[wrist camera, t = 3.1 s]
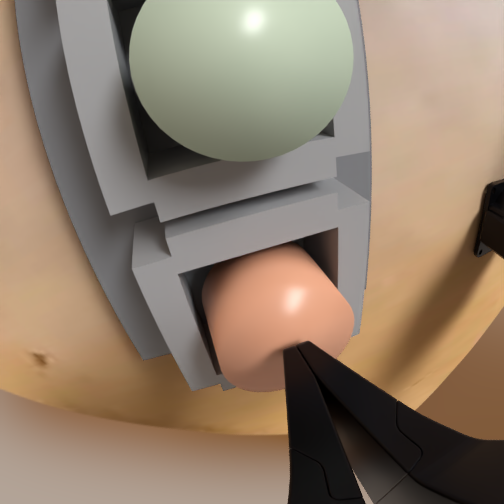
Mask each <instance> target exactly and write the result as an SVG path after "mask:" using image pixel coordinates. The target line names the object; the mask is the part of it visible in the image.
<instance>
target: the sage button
mask: <svg viewBox="0 0 504 504" xmlns="http://www.w3.org/2000/svg"><path fill="white" fill-rule="evenodd" d="M353 60H354V56H353V43H352V38H351V33H350V30H349V26H348V23H347V20H346V18H345V16H344V14H343V12H342V10H341V8H340V6H339V5H338V3H337V2H336V0H146V1H145V3H144V4H143V6H142V8H141V10H140V12H139V14H138V16H137V18H136V21H135V24H134V27H133V30H132V34H131V40H130V46H129V64H130V71H131V77H132V81H133V84H134V87H135V91H136V93H137V95H138V97H139V99H140V101H141V104H142V105H143V107H144V108H145V110H146V111H147V113H148V114H149V116H150V117H151V119H152V120H153V121H154V122H155V123H156V124H157V125H158V126H159V128H160V129H161V130H163V131H164V132H165V133H166V134H167V135H168V136H170V137H171V138H172V139H174V140H175V141H177V142H178V143H180V144H181V145H183V146H184V147H186V148H188V149H190V150H192V151H195V152H197V153H199V154H202V155H205V156H208V157H211V158H216V159H221V160H225V161H237V162H247V161H259V160H265V159H270V158H273V157H277V156H281V155H283V154H286V153H288V152H290V151H293V150H295V149H297V148H298V147H300V146H302V145H304V144H306V143H307V142H308V141H310V140H311V139H312V138H314V137H315V136H316V135H317V134H319V133H320V132H321V131H322V130H323V129H324V128H325V127H326V126H327V125H328V123H329V122H330V121H331V120H332V119H333V117H334V116H335V114H336V113H337V111H338V110H339V108H340V107H341V105H342V103H343V101H344V99H345V96H346V94H347V91H348V88H349V85H350V82H351V77H352V72H353Z"/></svg>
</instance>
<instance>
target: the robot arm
mask: <svg viewBox="0 0 504 504" xmlns="http://www.w3.org/2000/svg"><path fill="white" fill-rule="evenodd" d="M490 251H494V252H495V253H496V254H498V255H499V256H500V257H502V258H503V259H504V179H502V180H499V181H496V182H492V183H490V184H489V186H488V188H487V193H486V199H485V205H484V210H483V215H482V220H481V224H480V229H479V233H478V238H477V242H476V246H475V250H474V255H475V256H477V257H481V256H482V255H484V254H486V253H488V252H490ZM283 364H284V378H285V392H286V406H287V422H288V437H289V449H290V450H289V456H290V484H289V496H288V504H365V501H364V499H363V498H362V497H363V496H362V493H361V491H360V488H359V486H358V483H357V480H356V478H355V475H354V473H353V470H354V472H355V474H356V475H357V477H358V479H359V481H360V482H361V484H362V485H363V487H364V489H365V490H366V492H367V494H368V495H369V497H370V498H371V500H372V502H373V503H374V504H504V440H482V439H476V438H473V437H469V436H467V435H464V434H462V433H460V432H458V431H455V430H453V429H451V428H449V427H446V426H444V425H442V424H440V423H438V422H435V421H433V420H431V419H429V418H427V417H425V416H423V415H421V414H420V413H418V412H416V411H415V410H413V409H411V408H409V407H408V406H406V405H405V404H403V403H402V402H400V401H397V399H395V398H394V397H392V396H391V395H389V394H388V393H386V392H385V391H383V390H382V389H380V388H378V387H377V386H375V385H374V384H372V383H371V382H369V381H368V380H366V379H365V378H363V377H362V376H360V375H359V374H357V373H356V372H354V371H353V370H351V369H350V368H348V367H347V366H346V365H344V364H343V363H341V362H340V361H338V360H337V359H335V358H334V357H332V356H331V355H329V354H328V353H326V352H325V351H324V350H322V349H321V348H319V347H318V346H316V345H315V344H313V343H312V342H310V341H304V342H301V343H299V344H297V345H296V346H290V347H287V348H285V349H283ZM352 469H353V470H352Z"/></svg>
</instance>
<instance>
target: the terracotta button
mask: <svg viewBox="0 0 504 504" xmlns="http://www.w3.org/2000/svg"><path fill="white" fill-rule="evenodd" d="M202 304H203V308H204V312H205V315H206V319H207V323H208V326H209V330H210V334H211V337H212V341H213V344H214V348H215V351H216V355H217V358H218V362H219V365H220V368H221V371H222V373H223V375H224V377H225V378H226V379H227V380H228V381H229V382H230V383H231V384H233V385H234V386H236V387H238V388H241V389H243V390H248V391H254V392H270V391H277V390H282V389H285V378H284V364H283V349H285V348H287V347H290V346H296V345H297V344H299V343H301V342H304V341H310V342H312V343H313V344H315V345H316V346H318V347H319V348H321V349H322V350H324V351H325V352H326V353H328V354H329V355H331V356H332V357H334V358H335V359H336V358H337V357H338V356H339V355H340V354H341V352H342V351H343V350H344V348H345V347H346V345H347V344H348V342H349V340H350V338H351V335H352V332H353V328H354V314H353V310H352V308H351V306H350V305H349V303H348V302H347V301H346V299H345V298H344V297H343V296H342V294H341V293H340V292H339V291H338V289H337V288H336V287H335V286H334V284H333V283H332V282H331V281H330V279H329V278H328V277H327V276H326V275H325V273H324V272H323V271H322V270H321V268H320V267H319V266H318V265H317V264H316V262H315V261H314V260H313V259H312V257H311V256H310V255H309V254H308V253H307V251H305V250H304V249H303V248H302V247H301V246H300V245H298V244H297V243H294V242H292V241H289V242H286V243H282V244H279V245H275V246H272V247H269V248H265V249H262V250H258V251H255V252H251V253H248V254H245V255H241V256H238V257H234V258H231V259H228V260H224V261H221V262H217V263H215V264H214V266H213V267H212V268H211V270H210V271H209V273H208V275H207V277H206V279H205V281H204V285H203V288H202Z"/></svg>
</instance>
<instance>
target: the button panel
mask: <svg viewBox="0 0 504 504" xmlns="http://www.w3.org/2000/svg"><path fill="white" fill-rule="evenodd" d="M145 1H146V0H15V9H16V18H17V27H18V34H19V41H20V47H21V53H22V58H23V64H24V69H25V74H26V79H27V83H28V88H29V92H30V96H31V100H32V104H33V108H34V112H35V116H36V120H37V123H38V127H39V130H40V134H41V137H42V140H43V144H44V147H45V150H46V153H47V156H48V159H49V162H50V165H51V168H52V171H53V174H54V177H55V180H56V182H57V185H58V188H59V191H60V193H61V196H62V198H63V201H64V204H65V206H66V209H67V211H68V214H69V216H70V219H71V221H72V223H73V226H74V228H75V230H76V233H77V235H78V237H79V240H80V242H81V244H82V246H83V249H84V251H85V253H86V255H87V257H88V259H89V262H90V264H91V266H92V268H93V270H94V272H95V274H96V276H97V278H98V280H99V282H100V284H101V286H102V288H103V290H104V292H105V294H106V296H107V298H108V300H109V302H110V303H111V305H112V307H113V309H114V311H115V313H116V315H117V316H118V318H119V320H120V322H121V324H122V325H123V327H124V329H125V331H126V332H127V334H128V336H129V338H130V339H131V341H132V343H133V344H134V346H135V348H136V349H137V351H138V353H139V354H140V356H141V357H142V359H143V360H147V359H151V358H155V357H159V356H163V355H166V354H170V353H172V355H173V357H174V359H175V361H176V363H177V365H178V366H179V368H180V370H181V372H182V374H183V376H184V378H185V379H186V381H187V383H188V385H189V387H190V388H191V390H192V391H195V390H199V389H203V388H206V387H210V386H213V385H217V384H221V387H222V389H223V391H225V390H228V389H232V388H235V387H236V386H234V385H233V384H231V383H230V382H229V381H228V380H227V379H226V378H225V377H224V375H223V373H222V371H221V368H220V365H219V362H218V358H217V355H216V351H215V348H214V344H213V341H212V337H211V334H210V330H209V326H208V323H207V319H206V315H205V312H204V308H203V304H202V288H203V285H204V281H205V279H206V277H207V275H208V273H209V271H210V270H211V268H212V267H213V266H214V264H215V263H217V262H221V261H224V260H228V259H231V258H234V257H238V256H241V255H245V254H248V253H251V252H255V251H258V250H262V249H265V248H269V247H272V246H275V245H279V244H282V243H286V242H289V241H292V242H294V243H297V244H298V245H300V246H301V247H302V248H303V249H304V250H305V251H307V253H308V254H309V255H310V256H311V257H312V259H313V260H314V261H315V262H316V264H317V265H318V266H319V267H320V268H321V270H322V271H323V272H324V273H325V275H326V276H327V277H328V278H329V279H330V281H331V282H332V283H333V284H334V286H335V287H336V288H337V289H338V291H339V292H340V293H341V294H342V296H343V297H344V298H345V299H346V301H347V302H348V303H349V305H350V306H351V308H352V310H353V314H354V328H353V332H352V335H351V337H353V336H355V335H357V334H359V333H360V325H361V316H362V308H363V298H364V289H366V281H367V270H368V257H369V241H370V221H371V185H372V156H371V120H370V101H369V86H368V74H367V63H366V53H365V44H364V36H363V29H362V21H361V14H360V8H359V2H358V0H336V2H337V3H338V5H339V6H340V8H341V10H342V12H343V14H344V16H345V18H346V20H347V23H348V26H349V30H350V33H351V38H352V43H353V56H354V60H353V72H352V77H351V82H350V85H349V88H348V91H347V94H346V96H345V99H344V101H343V103H342V105H341V107H340V108H339V110H338V111H337V113H336V114H335V116H334V117H333V119H332V120H331V121H330V122H329V123H328V125H327V126H326V127H325V128H324V129H323V130H322V131H321V132H320V133H319V134H317V135H316V136H315V137H314V138H312V139H311V140H310V141H308V142H307V143H306V144H304V145H302V146H300V147H298V148H297V149H295V150H293V151H290V152H288V153H286V154H283V155H281V156H277V157H273V158H270V159H265V160H259V161H247V162H237V161H225V160H221V159H216V158H211V157H208V156H205V155H202V154H199V153H197V152H195V151H192V150H190V149H188V148H186V147H184V146H183V145H181V144H180V143H178V142H177V141H175V140H174V139H172V138H171V137H170V136H168V135H167V134H166V133H165V132H164V131H163V130H161V129H160V128H159V126H158V125H157V124H156V123H155V122H154V121H153V120H152V119H151V117H150V116H149V114H148V113H147V111H146V110H145V108H144V107H143V105H142V104H141V101H140V99H139V97H138V95H137V93H136V91H135V87H134V84H133V81H132V77H131V71H130V64H129V46H130V40H131V34H132V30H133V27H134V24H135V21H136V18H137V16H138V14H139V12H140V10H141V8H142V6H143V4H144V3H145Z"/></svg>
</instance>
